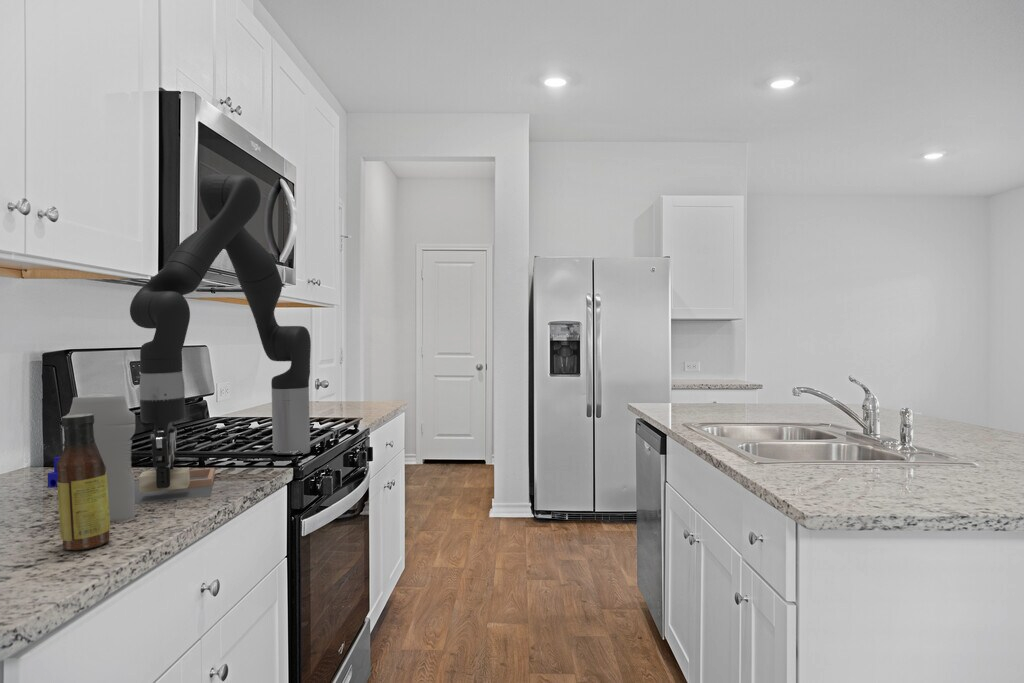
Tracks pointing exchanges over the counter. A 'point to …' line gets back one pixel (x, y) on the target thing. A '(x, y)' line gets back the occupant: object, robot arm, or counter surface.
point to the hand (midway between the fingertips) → (165, 484)
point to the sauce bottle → (82, 487)
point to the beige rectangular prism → (177, 480)
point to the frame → (201, 482)
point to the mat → (172, 493)
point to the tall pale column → (112, 447)
